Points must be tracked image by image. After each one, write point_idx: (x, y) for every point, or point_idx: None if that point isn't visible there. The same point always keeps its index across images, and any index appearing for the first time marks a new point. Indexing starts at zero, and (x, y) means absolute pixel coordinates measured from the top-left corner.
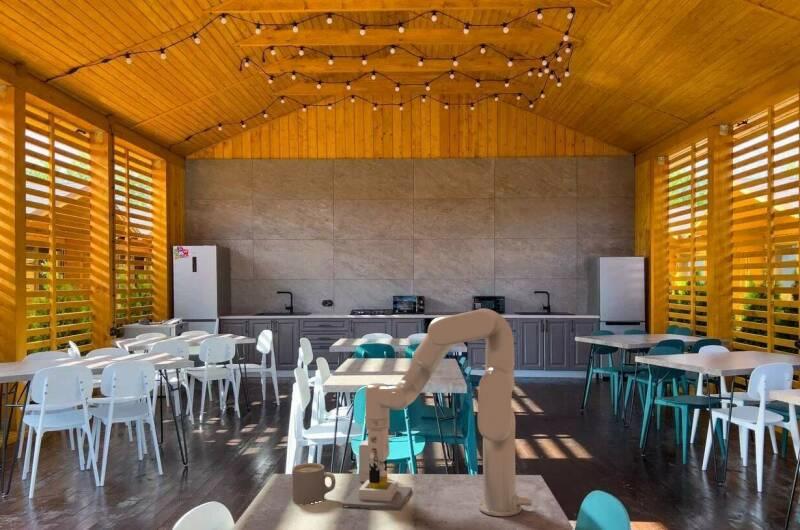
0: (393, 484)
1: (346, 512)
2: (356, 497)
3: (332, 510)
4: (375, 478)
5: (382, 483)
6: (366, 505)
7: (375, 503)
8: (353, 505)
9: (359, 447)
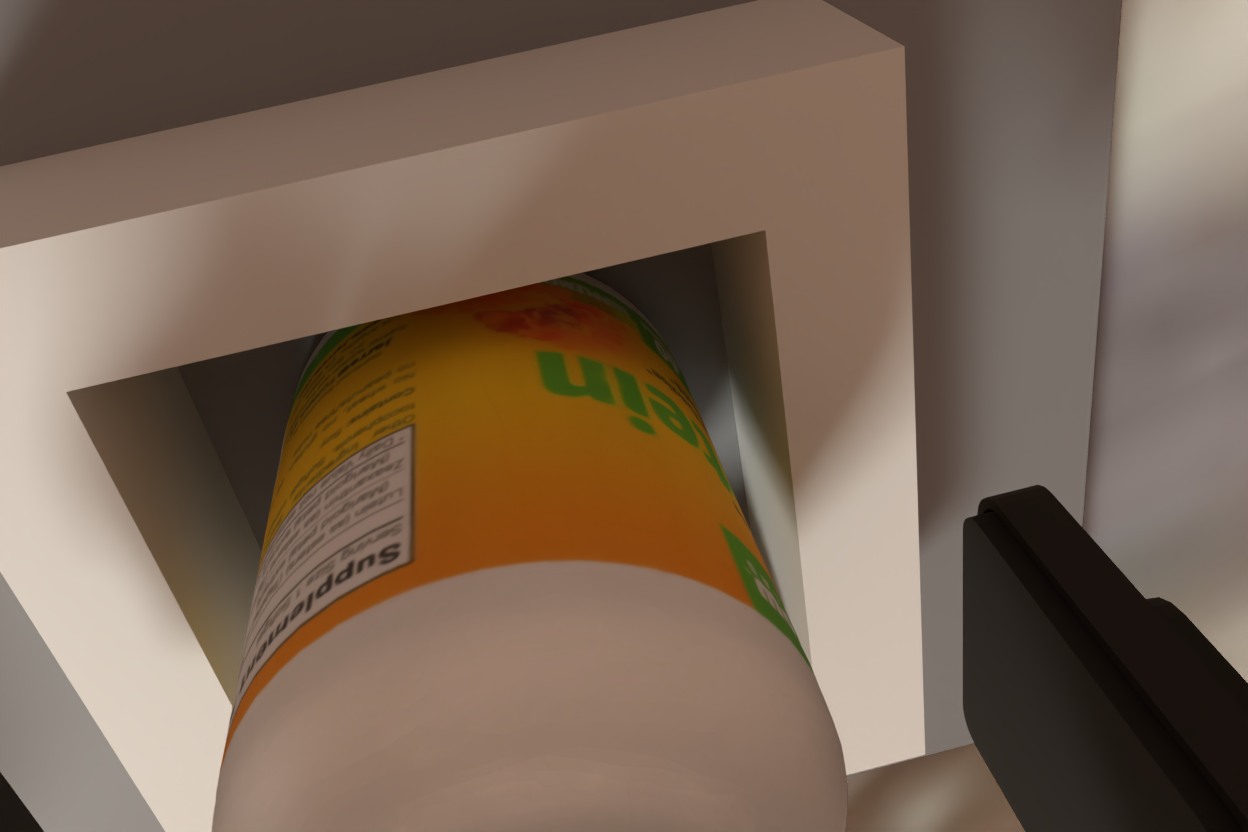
0: (218, 248)
1: (1240, 531)
2: None
3: None
4: (1198, 654)
5: (695, 463)
6: (1084, 374)
7: (1008, 256)
8: None
9: None
